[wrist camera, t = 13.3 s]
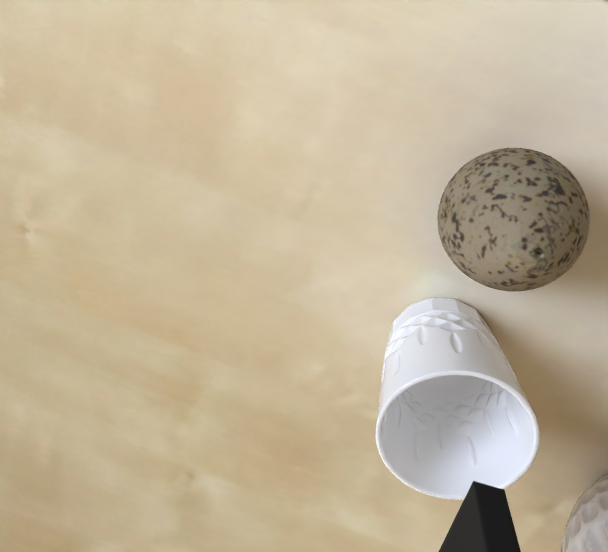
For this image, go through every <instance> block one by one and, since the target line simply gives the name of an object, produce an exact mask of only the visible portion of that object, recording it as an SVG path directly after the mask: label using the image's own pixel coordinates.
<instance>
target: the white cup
mask: <svg viewBox="0 0 608 552" xmlns="http://www.w3.org/2000/svg"><path fill="white" fill-rule="evenodd" d="M539 438H540V434H539V426H538V422H537V419H536V416H535V414H534V412H533V410H532V408H531V406H530V404H529V402H528V400H527V398H526V396H525V394H524V392H523V390H522V388H521V386H520V384H519V382H518V380H517V378H516V376H515V374H514V371H513V369H512V367H511V365H510V363H509V362H508V360H507V358H506V357H505V355H504V353H503V351H502V349H501V347H500V345H499V344H498V342H497V340H496V338H495V337H494V335H493V334H492V333H491V330H490V328H489V326H488V325H487V324H486V322H485V321H484V320H483V318H482V317H481V316H480V314H479V313H478V312H477V311H476V309H474V308H472V307H470V306H468V305H466V304H464V303H462V302H460V301H458V300H456V299H448V298H429V299H426V300H423V301H420V302H418V303H415V304H412V305H409V306H408V307H407V308H406V309H405V310H404V311H403V312H402V313H401V314H400V315H399V316H398V317H397V318H396V319H395V320H394V321H393V325H392V328H391V331H390V334H389V337H388V340H387V349H386V352H385V357H384V364H383V370H382V377H381V387H380V396H379V406H378V415H377V423H376V443H377V447H378V451H379V453H380V456H381V458H382V460H383V461H384V463H385V465H386V466H387V467H388V469H389V470H390V471H391V472H392V473H393V474H394V475H395V476H396V477H397V478H398V479H399V480H400V481H402V482H403V483H405V484H406V485H408V486H409V487H411V488H413V489H415V490H417V491H419V492H421V493H424V494H427V495H430V496H433V497H438V498H443V499H452V500H464V499H465V497H466V495H467V493H468V491H469V489H470V487H471V484H472V482H473V481H476V482H479V483H483V484H486V485H490V486H493V487H497V488H500V489H505V488H507V487H509V486H510V485H512V484H513V483H514V482H516V481H517V480H518V479H519V478H520V477H521V476H522V475H523V474H524V473H525V472H526V471H527V470H528V469H529V467H530V466H531V464H532V462H533V461H534V459H535V456H536V454H537V451H538V447H539Z"/></svg>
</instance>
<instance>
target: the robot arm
mask: <svg viewBox="0 0 608 552" xmlns="http://www.w3.org/2000/svg"><path fill="white" fill-rule="evenodd" d="M439 552H521V551H520V548H519V544H518V540H517V536H516V532H515V529H514V525H513V521H512V517H511V513H510V510H509V506H508V502H507V498H506V494H505V491H504V489H500V488H497V487H493V486H490V485H486V484H483V483H479V482H476V481H473V482H472V484H471V487H470V489H469V491H468V493H467V495H466V497H465V499H464V501H463V503H462V505H461V507H460V509H459V511H458V513H457V515H456V517H455V519H454V521H453V524H452V526H451V528H450V530H449V532H448V534H447V536H446V538H445V540H444V542H443V544H442V546H441V548H440V550H439Z"/></svg>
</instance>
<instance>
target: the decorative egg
mask: <svg viewBox="0 0 608 552" xmlns="http://www.w3.org/2000/svg"><path fill="white" fill-rule="evenodd" d="M438 230H439V235H440V239H441V242H442V244H443V247H444V249H445V251H446V252H447V254H448V256H449V257H450V259H451V260H452V261H453V263H454V264H455V265H456V266H457V267H458V268H459V269H460V270H461V271H462V272H463V273H464V274H466V275H467V276H468V277H470V278H471V279H473V280H475V281H477V282H479V283H481V284H483V285H485V286H488V287H491V288H494V289H498V290H504V291H525V290H531V289H535V288H538V287H541V286H544V285H546V284H548V283H551V282H552V281H554V280H556V279H557V278H559V277H560V276H561V275H563V274H564V273H565V272H566V271H567V270H568V269H569V268H570V267H571V266H572V265H573V264H574V263H575V261H576V260H577V258H578V257H579V255H580V254H581V252H582V250H583V248H584V245H585V243H586V240H587V235H588V231H589V208H588V203H587V200H586V197H585V194H584V192H583V190H582V188H581V186H580V184H579V183H578V181H577V180H576V178H575V177H574V176H573V174H572V173H571V172H570V171H569V170H568V169H567V168H566V167H565V166H564V165H562V164H561V163H560V162H558V161H557V160H555V159H554V158H552V157H550V156H548V155H546V154H543V153H541V152H538V151H534V150H530V149H523V148H505V149H498V150H494V151H491V152H488V153H485V154H482V155H480V156H478V157H476V158H474V159H473V160H471V161H470V162H468V163H467V164H466V165H464V166H463V167H462V168H461V169H460V170H459V171H458V172H457V173H456V174H455V175H454V177H453V178H452V179H451V180H450V181H449V183H448V185H447V186H446V188H445V190H444V193H443V195H442V198H441V201H440V204H439V210H438Z"/></svg>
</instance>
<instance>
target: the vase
mask: <svg viewBox="0 0 608 552" xmlns="http://www.w3.org/2000/svg"><path fill="white" fill-rule="evenodd" d="M561 552H608V475H605V476H604V477H602V478H600V479H599V480H598V481H596V482H595V483H594V484H593V485H591V486H590V487H589V488H588V489H587V490H586V491H585V492H584V494H583V495H582V496H581V497H580V498H579V499H578V501H577V502H576V504H575V505H574V507H573V510H572V512H571V514H570V517H569V519H568V522H567V524H566V528H565V532H564V536H563V541H562V547H561Z"/></svg>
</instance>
